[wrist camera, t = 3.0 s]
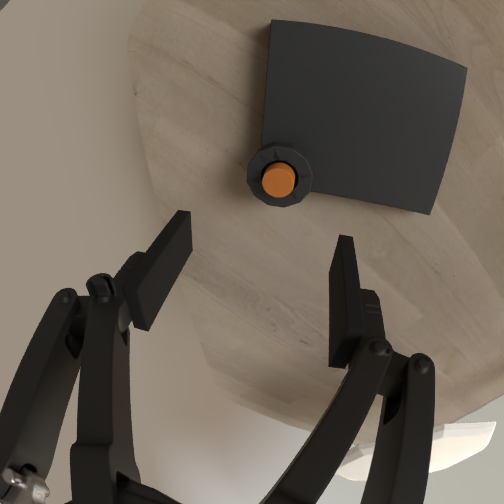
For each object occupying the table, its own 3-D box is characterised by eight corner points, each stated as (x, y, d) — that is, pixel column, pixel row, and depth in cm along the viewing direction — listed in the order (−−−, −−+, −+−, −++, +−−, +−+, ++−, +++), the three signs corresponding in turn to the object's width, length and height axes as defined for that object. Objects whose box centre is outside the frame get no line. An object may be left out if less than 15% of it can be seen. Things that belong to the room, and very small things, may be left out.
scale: (252, 186, 29) (245, 202, 27) (265, 21, 20) (258, 15, 17) (420, 217, 28) (430, 235, 25) (458, 66, 18) (476, 69, 15)
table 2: (330, 331, 40) (324, 445, 26) (501, 315, 33) (534, 408, 19) (327, 412, 55) (321, 485, 42) (450, 401, 48) (458, 469, 35)
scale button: (263, 188, 26) (260, 195, 25) (265, 160, 24) (263, 166, 23) (292, 192, 26) (291, 200, 24) (297, 164, 24) (296, 171, 23)
